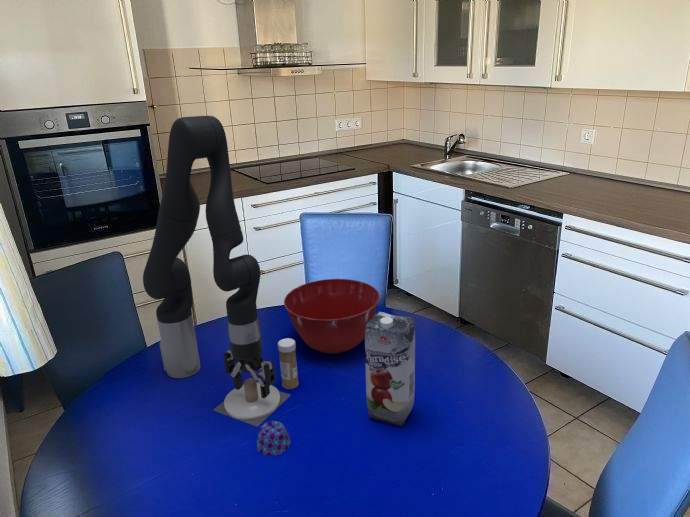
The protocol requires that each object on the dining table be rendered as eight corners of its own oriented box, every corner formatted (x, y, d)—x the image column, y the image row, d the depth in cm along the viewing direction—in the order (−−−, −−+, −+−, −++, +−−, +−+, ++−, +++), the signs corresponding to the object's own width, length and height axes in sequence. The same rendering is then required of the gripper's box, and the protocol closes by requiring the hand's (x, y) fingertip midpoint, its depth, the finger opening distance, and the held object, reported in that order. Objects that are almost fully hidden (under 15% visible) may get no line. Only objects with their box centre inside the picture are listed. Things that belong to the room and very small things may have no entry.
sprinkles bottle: (301, 386, 142) (298, 342, 137) (286, 392, 140) (282, 348, 135) (293, 378, 146) (290, 335, 141) (278, 384, 144) (274, 341, 139)
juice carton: (377, 398, 136) (376, 303, 126) (417, 409, 132) (418, 311, 122) (363, 419, 129) (360, 320, 119) (404, 431, 124) (405, 328, 114)
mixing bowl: (268, 350, 160) (263, 304, 155) (325, 313, 182) (322, 271, 176) (345, 378, 145) (343, 328, 139) (397, 334, 167) (397, 289, 161)
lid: (212, 410, 133) (209, 389, 131) (248, 381, 145) (245, 361, 142) (257, 426, 127) (254, 405, 124) (290, 394, 138) (289, 374, 136)
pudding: (311, 443, 122) (309, 424, 120) (272, 474, 114) (270, 454, 112) (275, 422, 129) (273, 404, 127) (236, 450, 121) (233, 431, 119)
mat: (213, 412, 133) (212, 410, 133) (248, 383, 145) (248, 381, 145) (257, 428, 127) (257, 426, 127) (291, 396, 138) (290, 394, 138)
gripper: (212, 336, 129) (220, 393, 135) (259, 349, 122) (266, 408, 128) (232, 323, 135) (239, 377, 141) (278, 334, 128) (284, 391, 134)
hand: (252, 392), depth 135 cm, fingers open, 8 cm apart
